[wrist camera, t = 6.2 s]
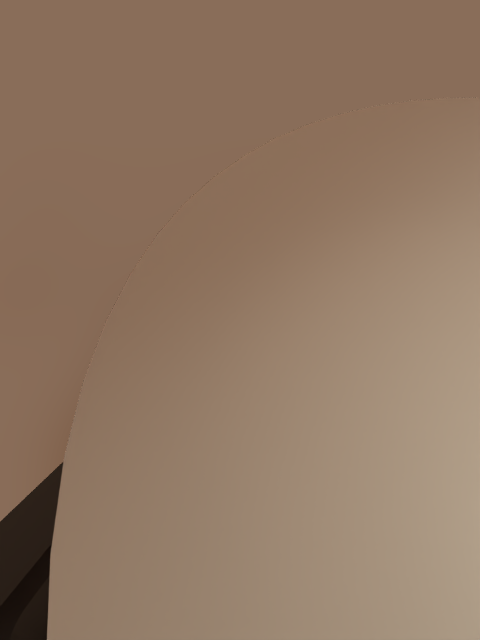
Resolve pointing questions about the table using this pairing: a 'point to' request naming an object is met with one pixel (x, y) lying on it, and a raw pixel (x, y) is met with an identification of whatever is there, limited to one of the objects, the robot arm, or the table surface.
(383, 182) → the pepper mill
